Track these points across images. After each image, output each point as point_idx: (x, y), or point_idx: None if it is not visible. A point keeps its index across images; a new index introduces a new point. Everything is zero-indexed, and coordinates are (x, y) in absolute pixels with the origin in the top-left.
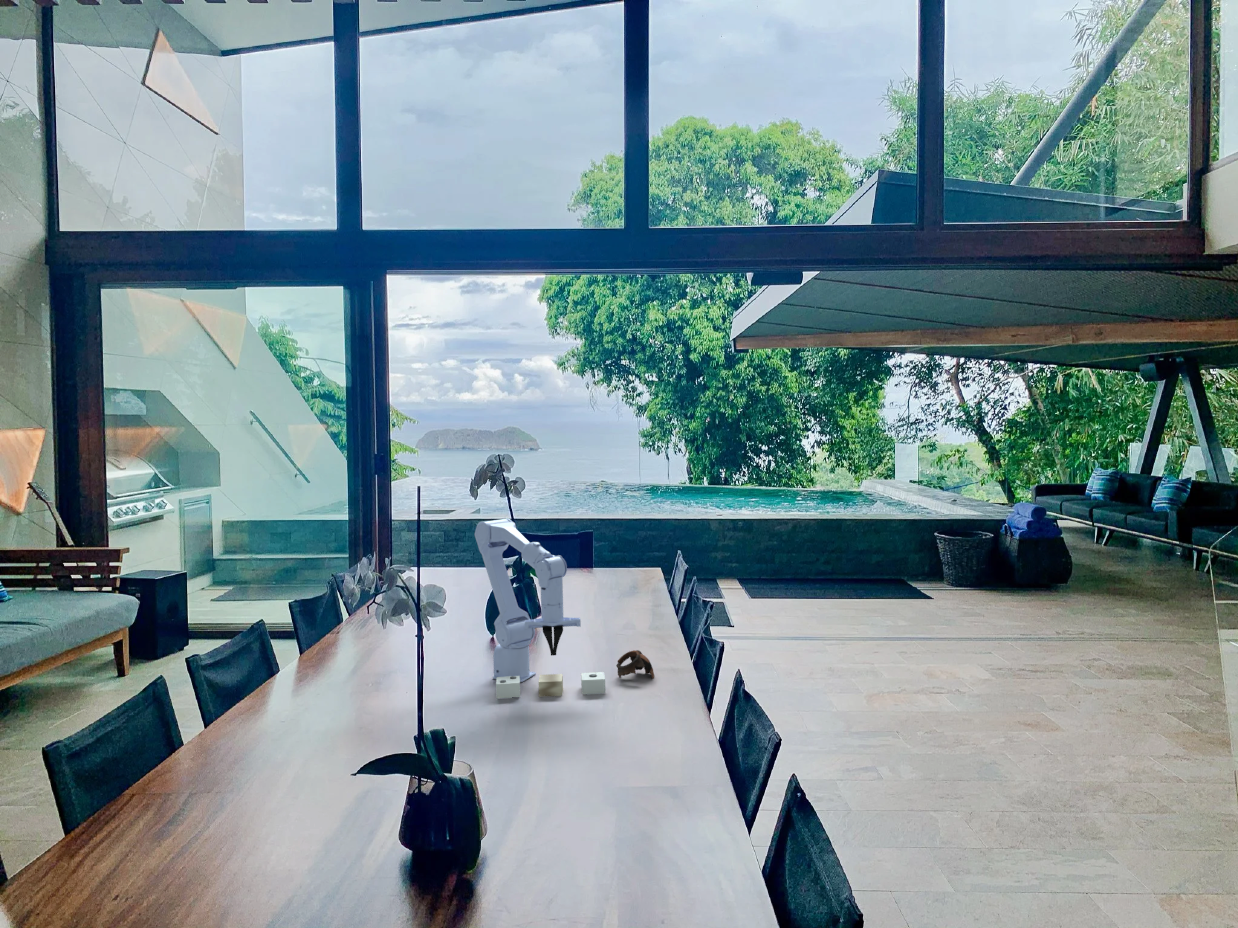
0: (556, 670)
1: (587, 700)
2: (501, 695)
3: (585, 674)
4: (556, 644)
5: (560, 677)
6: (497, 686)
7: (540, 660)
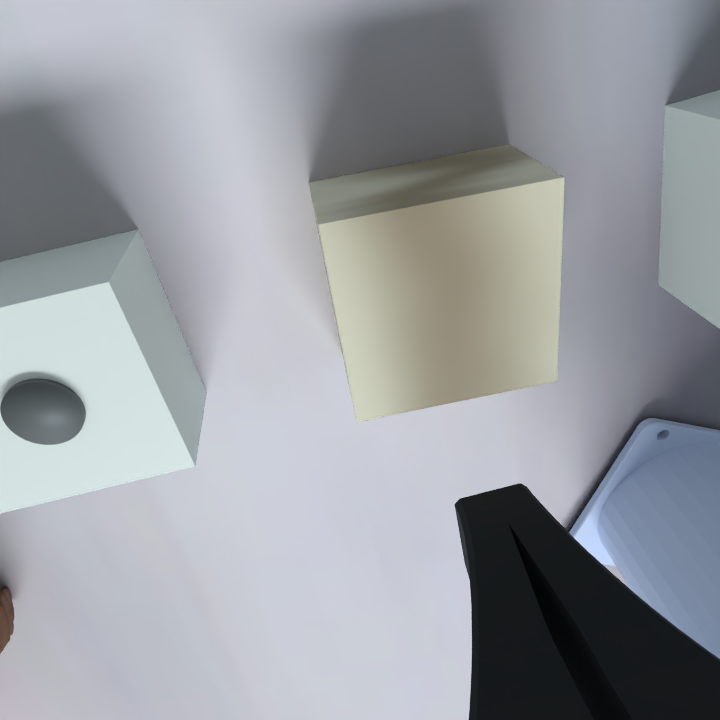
0: (442, 612)
1: (18, 61)
2: None
3: (139, 438)
4: (497, 625)
5: (357, 334)
6: None
7: None
